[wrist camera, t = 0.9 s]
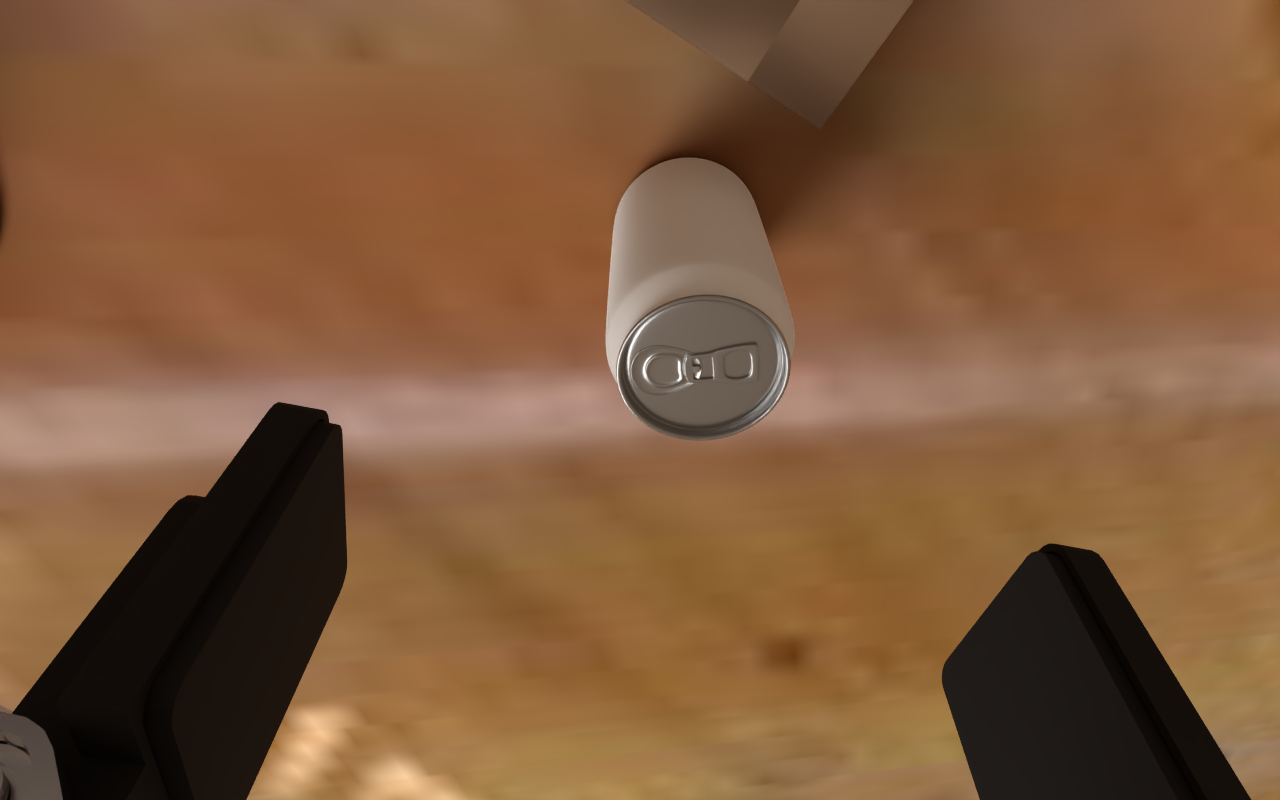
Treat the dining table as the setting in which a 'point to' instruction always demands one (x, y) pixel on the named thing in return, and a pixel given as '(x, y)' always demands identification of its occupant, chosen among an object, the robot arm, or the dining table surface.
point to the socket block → (786, 43)
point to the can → (695, 304)
